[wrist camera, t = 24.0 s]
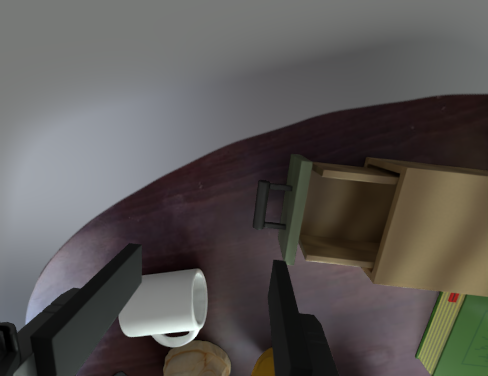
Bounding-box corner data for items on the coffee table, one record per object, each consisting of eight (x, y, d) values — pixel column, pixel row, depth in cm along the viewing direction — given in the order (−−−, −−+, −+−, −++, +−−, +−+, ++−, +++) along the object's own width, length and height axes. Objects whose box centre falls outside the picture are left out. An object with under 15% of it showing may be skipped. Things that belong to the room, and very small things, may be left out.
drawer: (249, 234, 34) (249, 260, 27) (260, 150, 30) (262, 156, 24) (382, 249, 34) (414, 279, 27) (407, 166, 30) (450, 177, 24)
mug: (140, 265, 37) (110, 302, 29) (200, 257, 36) (186, 293, 28) (159, 326, 40) (136, 374, 32) (215, 320, 39) (206, 367, 31)
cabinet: (344, 246, 35) (373, 283, 26) (366, 156, 31) (407, 167, 23) (453, 258, 34) (517, 300, 26) (488, 170, 31) (574, 185, 23)
